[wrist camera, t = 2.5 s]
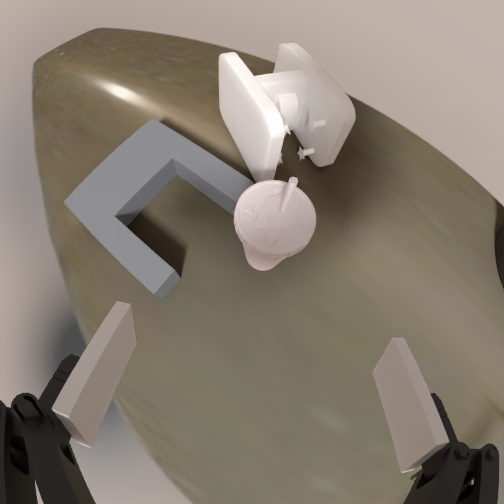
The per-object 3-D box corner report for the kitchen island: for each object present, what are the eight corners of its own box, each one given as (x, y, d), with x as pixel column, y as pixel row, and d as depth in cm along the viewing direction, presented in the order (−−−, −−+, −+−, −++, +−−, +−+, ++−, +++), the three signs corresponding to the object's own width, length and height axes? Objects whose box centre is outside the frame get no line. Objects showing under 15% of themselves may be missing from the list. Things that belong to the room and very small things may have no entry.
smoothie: (304, 261, 31) (354, 200, 18) (255, 295, 29) (276, 252, 16) (269, 216, 32) (293, 132, 19) (220, 245, 31) (215, 171, 17)
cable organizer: (215, 111, 37) (214, 45, 26) (282, 97, 39) (295, 35, 28) (258, 195, 33) (270, 127, 22) (333, 172, 35) (366, 110, 24)
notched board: (251, 198, 33) (253, 182, 29) (162, 300, 28) (153, 294, 25) (157, 135, 35) (152, 118, 32) (76, 214, 31) (63, 202, 27)
